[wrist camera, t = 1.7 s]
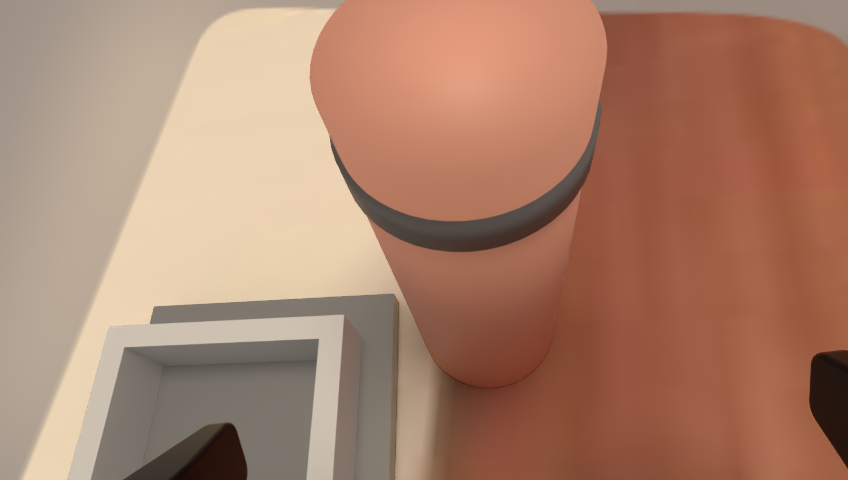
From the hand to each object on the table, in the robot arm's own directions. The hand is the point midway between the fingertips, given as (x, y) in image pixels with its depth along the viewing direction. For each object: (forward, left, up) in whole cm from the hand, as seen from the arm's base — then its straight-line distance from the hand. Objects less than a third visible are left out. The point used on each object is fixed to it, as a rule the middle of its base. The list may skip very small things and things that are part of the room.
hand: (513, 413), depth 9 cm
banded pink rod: (+6, +1, -12) cm, 13 cm away
